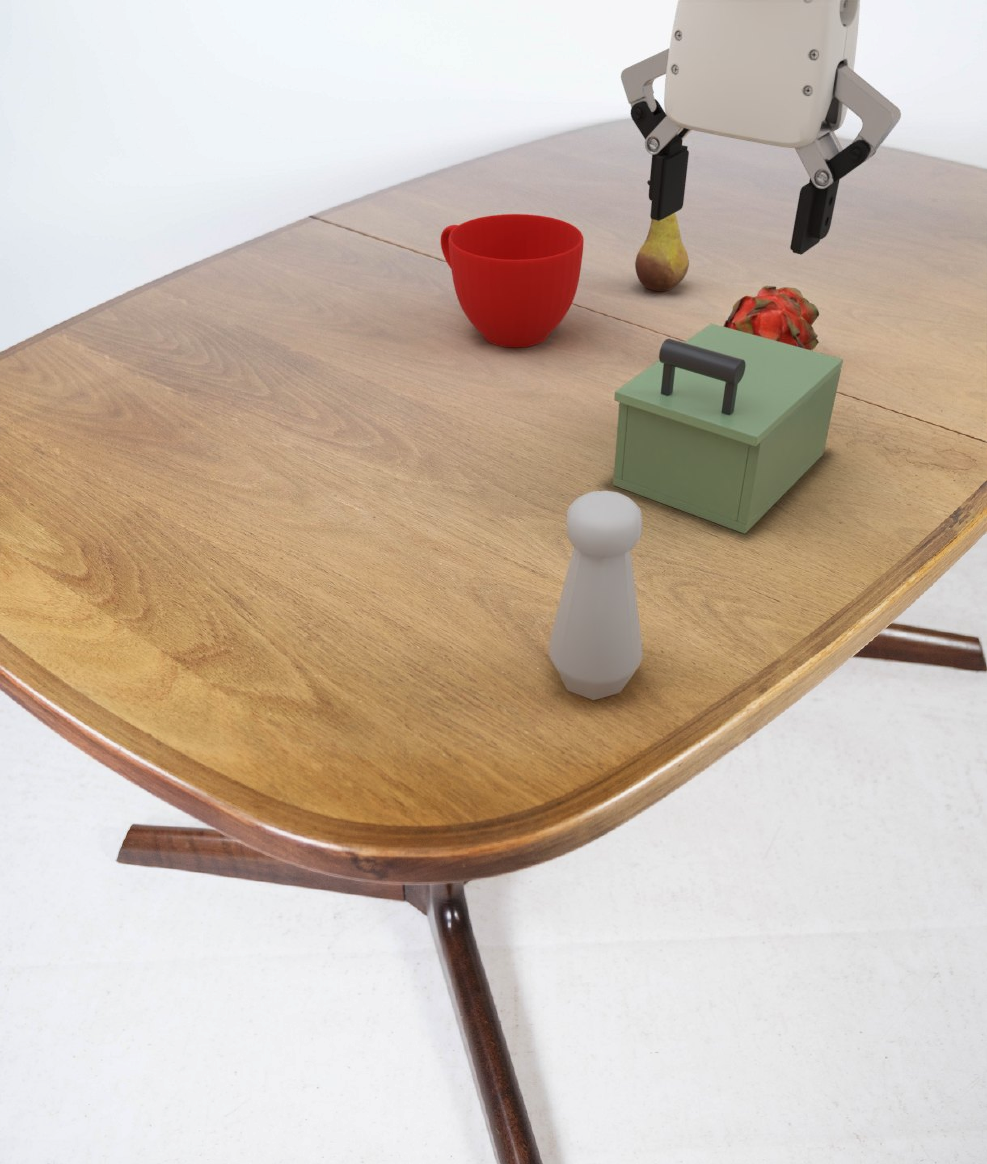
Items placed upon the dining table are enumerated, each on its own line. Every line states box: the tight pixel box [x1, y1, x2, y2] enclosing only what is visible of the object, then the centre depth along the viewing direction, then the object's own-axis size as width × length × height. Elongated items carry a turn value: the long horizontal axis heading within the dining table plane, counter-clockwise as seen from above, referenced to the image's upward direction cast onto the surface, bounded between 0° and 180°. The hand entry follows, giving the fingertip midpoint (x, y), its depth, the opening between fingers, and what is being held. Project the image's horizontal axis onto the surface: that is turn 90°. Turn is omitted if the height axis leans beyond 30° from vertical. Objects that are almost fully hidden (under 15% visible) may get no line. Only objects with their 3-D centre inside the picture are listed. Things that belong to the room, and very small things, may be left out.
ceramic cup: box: [440, 213, 584, 348], centre depth 107 cm, size 13×17×10 cm
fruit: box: [634, 179, 690, 292], centre depth 115 cm, size 6×6×12 cm
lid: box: [613, 323, 844, 446], centre depth 81 cm, size 15×12×5 cm
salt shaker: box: [548, 490, 643, 701], centre depth 64 cm, size 6×6×13 cm
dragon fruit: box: [722, 285, 820, 351], centre depth 100 cm, size 8×8×12 cm
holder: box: [612, 368, 842, 535], centre depth 86 cm, size 15×12×8 cm
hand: (733, 230), depth 68 cm, fingers open, 9 cm apart
